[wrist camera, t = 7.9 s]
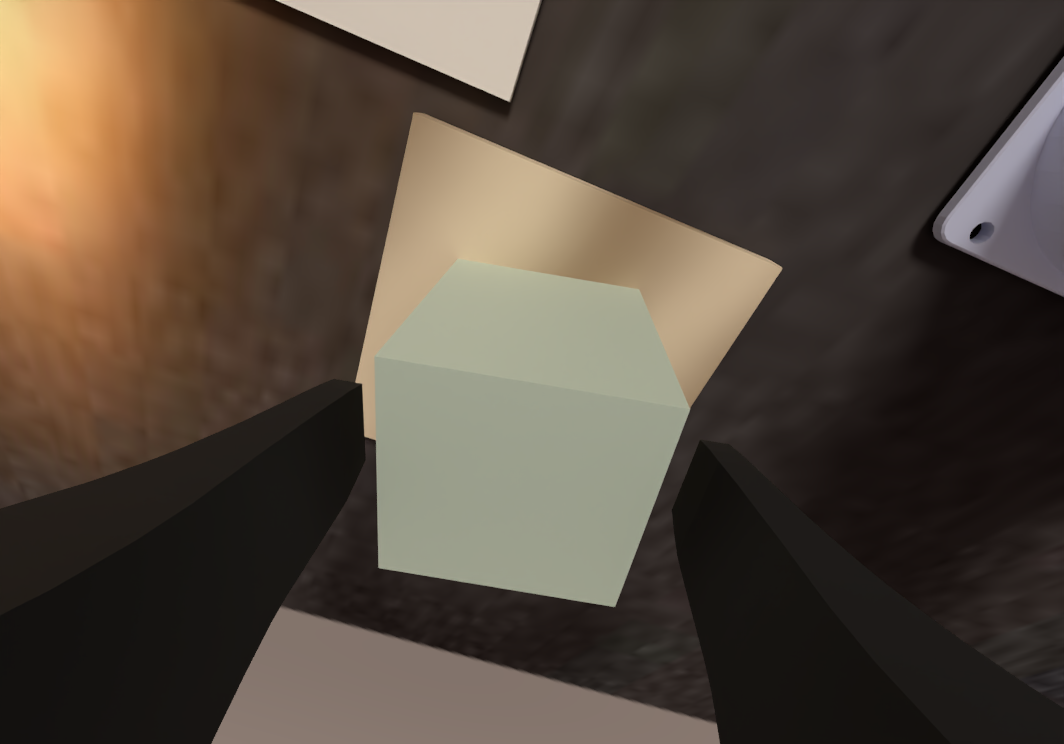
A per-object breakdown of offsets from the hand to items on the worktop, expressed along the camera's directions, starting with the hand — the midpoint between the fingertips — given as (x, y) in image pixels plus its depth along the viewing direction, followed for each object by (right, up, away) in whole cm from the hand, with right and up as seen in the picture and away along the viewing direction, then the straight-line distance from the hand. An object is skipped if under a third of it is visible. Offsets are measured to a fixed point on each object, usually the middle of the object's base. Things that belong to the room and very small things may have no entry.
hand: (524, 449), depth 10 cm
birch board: (0, +2, +5) cm, 5 cm away
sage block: (0, +2, +4) cm, 4 cm away
